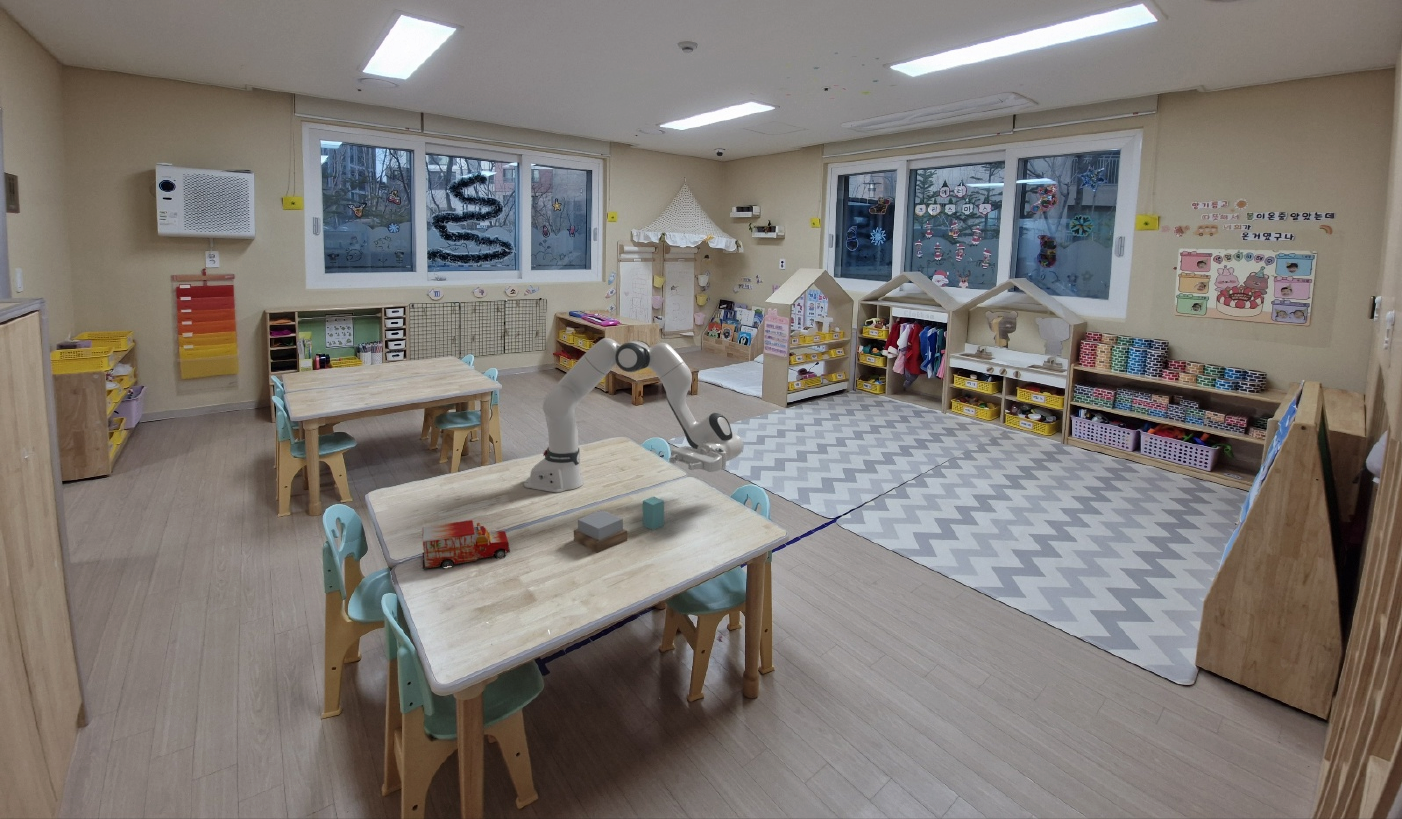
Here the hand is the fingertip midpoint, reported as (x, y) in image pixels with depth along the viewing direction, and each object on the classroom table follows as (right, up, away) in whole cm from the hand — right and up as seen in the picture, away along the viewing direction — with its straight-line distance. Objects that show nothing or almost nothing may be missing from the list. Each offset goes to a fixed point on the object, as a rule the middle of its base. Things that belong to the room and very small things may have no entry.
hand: (680, 464), depth 227 cm
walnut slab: (-25, -24, -14) cm, 37 cm away
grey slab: (-25, -20, -16) cm, 35 cm away
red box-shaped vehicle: (-63, -26, -27) cm, 74 cm away
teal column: (-9, -20, -3) cm, 22 cm away
